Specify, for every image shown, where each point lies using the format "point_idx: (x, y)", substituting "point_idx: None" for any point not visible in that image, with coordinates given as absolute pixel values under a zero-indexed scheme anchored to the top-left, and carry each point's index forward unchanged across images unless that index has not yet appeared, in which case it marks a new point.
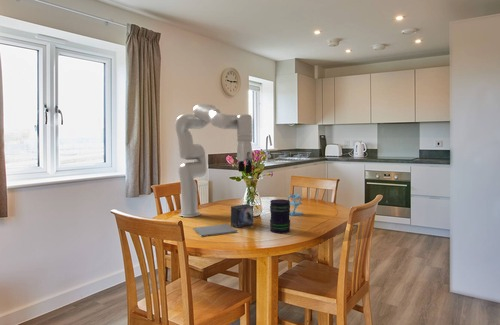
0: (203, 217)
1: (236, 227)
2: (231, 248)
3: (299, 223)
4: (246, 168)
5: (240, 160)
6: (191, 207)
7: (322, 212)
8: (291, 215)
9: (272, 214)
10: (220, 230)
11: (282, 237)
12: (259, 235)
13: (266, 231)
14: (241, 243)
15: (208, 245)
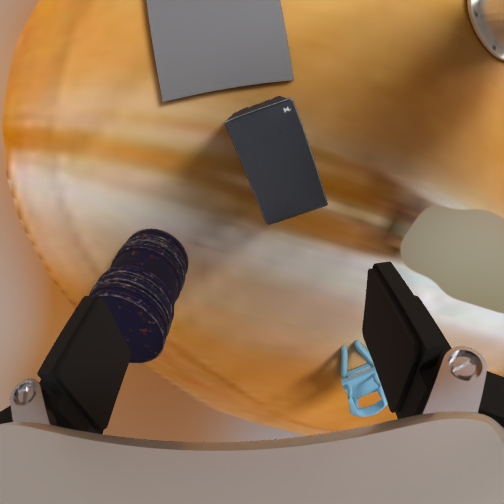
0: (457, 46)
1: (236, 112)
2: (14, 82)
3: (237, 339)
4: (62, 342)
5: (141, 446)
6: (498, 13)
7: (336, 409)
8: (341, 347)
9: (118, 265)
10: (187, 38)
11: (83, 242)
12: (109, 178)
13: (155, 214)
14: (42, 109)
15: (50, 14)
